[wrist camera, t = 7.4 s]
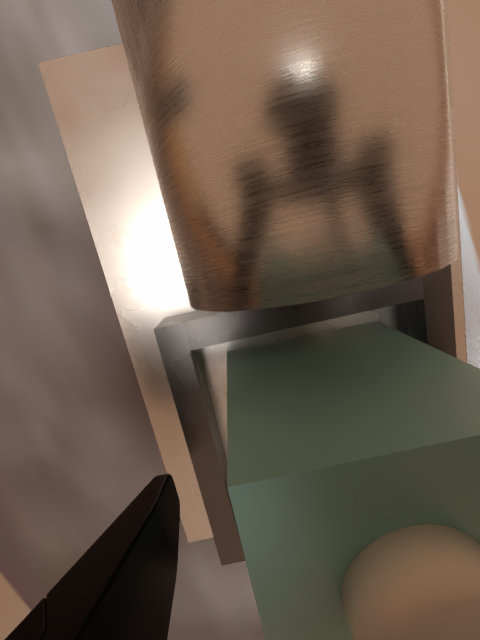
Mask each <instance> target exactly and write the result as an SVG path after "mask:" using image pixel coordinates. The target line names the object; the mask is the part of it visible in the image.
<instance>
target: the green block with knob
mask: <svg viewBox="0 0 480 640" xmlns="http://www.w3.org/2000/svg"><path fill="white" fill-rule="evenodd" d="M227 488H228V492H229V496H230V500H231V504H232V508H233V512H234V516H235V520H236V524H237V528H238V532H239V536H240V540H241V544H242V548H243V552H244V556H245V560H246V564H247V568H248V572H249V576H250V580H251V584H252V587H253V591H254V595H255V599H256V603H257V607H258V611H259V615H260V619H261V623H262V627H263V631H264V635H265V639H266V640H480V369H479V368H476V367H474V366H472V365H470V364H468V363H466V362H464V361H461V360H459V359H457V358H455V357H453V356H451V355H449V354H446V353H444V352H442V351H440V350H438V349H436V348H434V347H432V346H429V345H427V344H425V343H423V342H421V341H419V340H417V339H414V338H412V337H410V336H408V335H406V334H404V333H402V332H399V331H397V330H395V329H393V328H391V327H389V326H387V325H384V324H382V323H380V322H378V321H372V322H367V323H363V324H358V325H353V326H348V327H343V328H339V329H334V330H329V331H324V332H320V333H315V334H310V335H305V336H301V337H296V338H291V339H286V340H282V341H277V342H272V343H267V344H262V345H258V346H253V347H248V348H243V349H239V350H234V351H229V352H227Z"/></svg>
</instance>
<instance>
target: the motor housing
mask: <svg viewBox="0 0 480 640" xmlns="http://www.w3.org/2000/svg"><path fill="white" fill-rule="evenodd" d="M112 4H113V8H114V12H115V16H116V20H117V24H118V27H119V31H120V35H121V39H122V43H123V44H119V45H114V46H110V47H105V48H101V49H97V50H92V51H88V52H83V53H79V54H75V55H70V56H66V57H62V58H57V59H53V60H48V61H44V62H40V63H38V64H39V67H40V71H41V74H42V77H43V80H44V83H45V87H46V90H47V93H48V96H49V99H50V103H51V106H52V109H53V112H54V115H55V118H56V122H57V125H58V128H59V131H60V134H61V138H62V141H63V144H64V147H65V150H66V153H67V157H68V160H69V163H70V166H71V169H72V173H73V176H74V179H75V182H76V185H77V189H78V192H79V195H80V198H81V201H82V204H83V208H84V211H85V214H86V217H87V220H88V224H89V227H90V230H91V233H92V236H93V240H94V243H95V246H96V249H97V252H98V255H99V259H100V262H101V265H102V268H103V271H104V275H105V278H106V281H107V284H108V287H109V290H110V294H111V297H112V300H113V303H114V306H115V310H116V313H117V316H118V319H119V322H120V326H121V329H122V332H123V335H124V338H125V341H126V345H127V348H128V351H129V354H130V357H131V361H132V364H133V367H134V370H135V373H136V376H137V380H138V383H139V386H140V389H141V392H142V396H143V399H144V402H145V405H146V408H147V412H148V415H149V418H150V421H151V424H152V427H153V431H154V434H155V437H156V440H157V443H158V447H159V450H160V453H161V456H162V459H163V462H164V466H165V469H166V472H167V474H171V475H172V477H173V480H174V483H175V486H176V490H177V493H178V496H179V500H180V517H181V520H182V523H183V526H184V529H185V533H186V536H187V539H188V542H194V541H198V540H203V539H207V538H212V537H214V540H215V544H216V547H217V551H218V554H219V558H220V561H221V564H222V565H226V564H231V563H236V562H240V561H245V556H244V552H243V548H242V544H241V540H240V536H239V532H238V528H237V524H236V520H235V516H234V512H233V508H232V504H231V500H230V496H229V492H228V488H227V352H229V351H234V350H239V349H243V348H248V347H253V346H258V345H262V344H267V343H272V342H277V341H282V340H286V339H291V338H296V337H301V336H305V335H310V334H315V333H320V332H324V331H329V330H334V329H339V328H343V327H348V326H353V325H358V324H363V323H367V322H372V321H378V322H380V323H382V324H384V325H387V326H389V327H391V328H393V329H395V330H397V331H399V332H402V333H404V334H406V335H408V336H410V337H412V338H414V339H417V340H419V341H421V342H423V343H425V344H427V345H429V346H432V347H434V348H436V349H438V350H440V351H442V352H444V353H446V354H449V355H451V356H453V357H455V358H457V359H459V360H461V361H464V362H466V363H467V352H466V334H465V316H464V298H463V281H462V263H461V245H460V227H459V210H458V192H457V174H456V156H455V139H454V123H453V122H454V121H453V104H452V86H451V68H450V50H449V32H448V16H447V15H448V14H447V0H112Z"/></svg>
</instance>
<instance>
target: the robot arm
mask: <svg viewBox="0 0 480 640" xmlns="http://www.w3.org/2000/svg"><path fill="white" fill-rule="evenodd" d="M179 523H180V500H179V496H178V493H177V490H176V486H175V483H174V480H173V477H172V475H171V474H164V475H159V476H156V477H154V478H153V479H152V481H151V482H150V483H149V484H148V485H147V486H146V487H145V488H144V489H143V490H142V491H141V492H140V494H139V495H138V496H137V497H136V498H135V499H134V500H133V501H132V502H131V503H130V504H129V506H128V507H127V508H126V509H125V510H124V511H123V512H122V513H121V514H120V515H119V516H118V518H117V519H116V520H115V521H114V522H113V523H112V524H111V525H110V526H109V527H108V528H107V530H106V531H105V532H104V533H103V534H102V535H101V536H100V537H99V538H98V539H97V540H96V541H95V543H94V544H93V545H92V546H91V547H90V548H89V549H88V550H87V551H86V552H85V553H84V555H83V556H82V557H81V558H80V559H79V560H78V561H77V562H76V563H75V564H74V565H73V567H72V568H71V569H70V570H69V571H68V572H67V573H66V574H65V575H64V576H63V577H62V578H61V580H60V581H59V582H58V583H57V584H56V585H55V586H54V587H53V588H52V589H51V590H50V592H49V593H48V594H47V595H46V598H43V599H42V600H41V601H40V602H39V603H38V604H37V606H36V607H35V608H34V609H33V610H32V611H31V612H30V613H29V614H28V615H27V616H26V618H25V619H24V620H23V621H22V622H21V623H20V624H19V625H18V626H17V627H16V628H15V629H14V630H13V631H12V632H11V634H9V636H8V637H7V638H6V639H5V640H167V636H168V629H169V623H170V616H171V609H172V603H173V596H174V589H175V582H176V574H177V562H178V543H179Z"/></svg>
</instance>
